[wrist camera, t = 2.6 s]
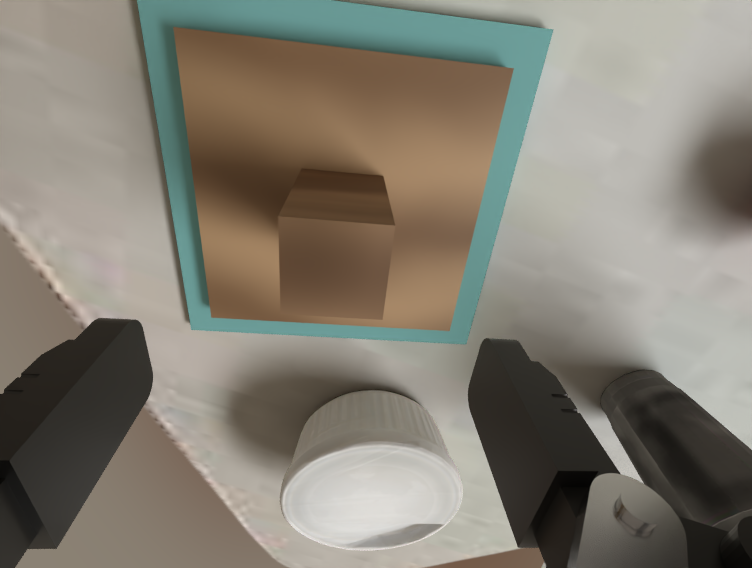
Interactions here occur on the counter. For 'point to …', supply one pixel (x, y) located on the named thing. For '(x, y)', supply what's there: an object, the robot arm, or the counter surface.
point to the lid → (335, 177)
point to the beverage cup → (681, 449)
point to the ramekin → (370, 474)
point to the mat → (356, 31)
